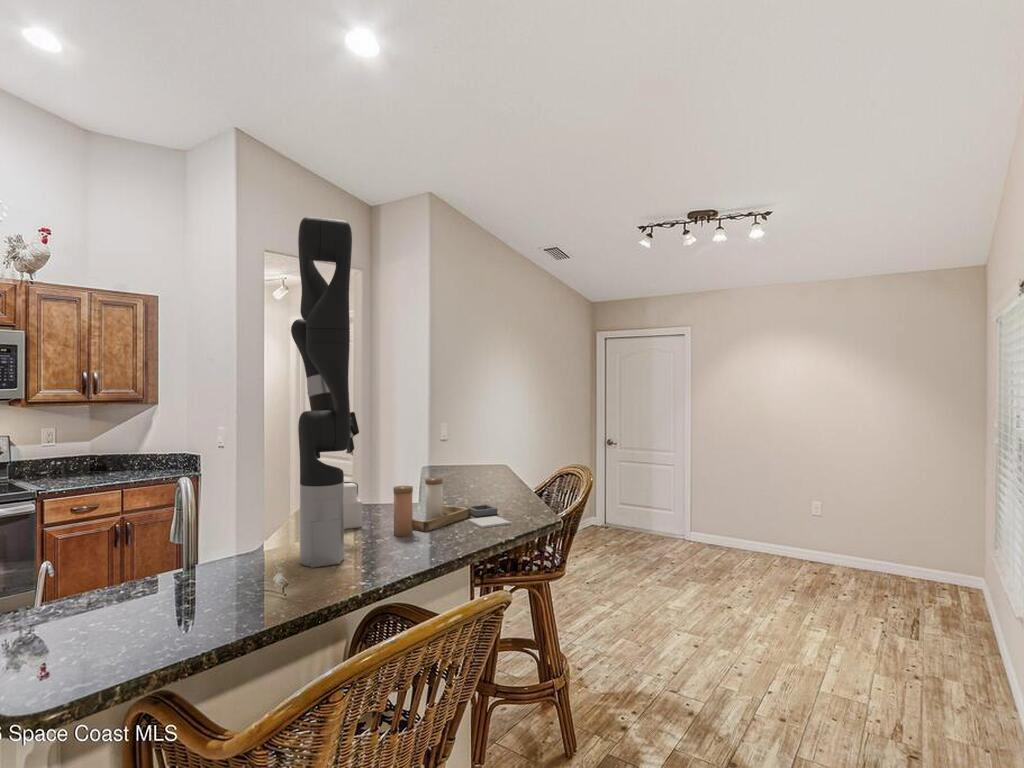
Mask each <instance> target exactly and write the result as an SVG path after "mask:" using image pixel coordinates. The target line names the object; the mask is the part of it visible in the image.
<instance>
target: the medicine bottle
mask: <svg viewBox="0 0 1024 768" xmlns="http://www.w3.org/2000/svg"><path fill="white" fill-rule="evenodd" d="M343 482H344V530H350V529H356V528H357V529H359V528H362V527H363V502H362V500H360V499H359V498H358V497H359V485H358V483H356V482H353V481H343Z"/></svg>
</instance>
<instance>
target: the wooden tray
mask: <svg viewBox="0 0 1024 768" xmlns="http://www.w3.org/2000/svg"><path fill="white" fill-rule="evenodd" d="M446 514H447V515H446ZM468 517H469V518H471V515H470V508H466V507H464V506H463V507H461V506H454V505H448V504H447V505H446V504H444V505H443V516H440V517H437V518H434V519H431V520H427V521H426V520H422V519H415V518H412V530H413V529H414V530H415V531H419V530H420V531H421V532H425V531H427V532H429V530H430V531H433V530H435V528H436V529H439V528H442V527H445V526H447V525H446V524H448V525H450V524H449V523H451V524H453V523H452V522H454V523H456V522H455V521H457V522H459V520H460V521H462V519H463V520H465V518H466V519H469V518H468ZM444 525H445V526H444ZM441 526H442V527H441ZM438 527H439V528H438ZM432 529H433V530H432Z"/></svg>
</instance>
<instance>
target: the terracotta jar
mask: <svg viewBox="0 0 1024 768" xmlns="http://www.w3.org/2000/svg"><path fill="white" fill-rule="evenodd" d="M392 489H393V490H392V491H393V536H395V535H396V537H409V536H412V535H413V529H412V519H413V492H414V491H413V489H414V487H413V485H397V486H393V488H392ZM411 534H412V535H411ZM408 535H409V536H408Z"/></svg>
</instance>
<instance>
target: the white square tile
mask: <svg viewBox="0 0 1024 768" xmlns="http://www.w3.org/2000/svg"><path fill="white" fill-rule="evenodd" d="M467 522H468V523H470V524H472V525H475V526H476V527H478V528H481V529H485V528H493V527H499V526H501V527H502V526H506V525H507V526H509V525H511V523H512V522H511V521H509V520H507V519H504V518H502V517H500V516H498V515H495V516H486V517H478V518H476V517H474V518H467Z"/></svg>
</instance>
